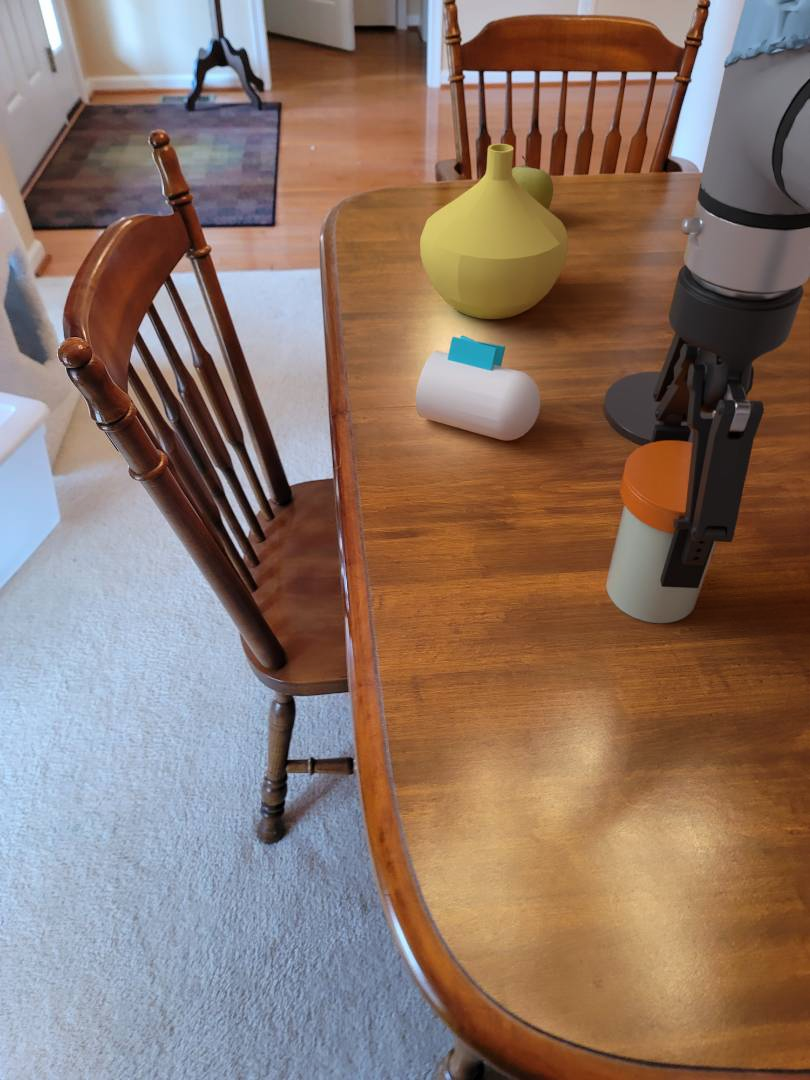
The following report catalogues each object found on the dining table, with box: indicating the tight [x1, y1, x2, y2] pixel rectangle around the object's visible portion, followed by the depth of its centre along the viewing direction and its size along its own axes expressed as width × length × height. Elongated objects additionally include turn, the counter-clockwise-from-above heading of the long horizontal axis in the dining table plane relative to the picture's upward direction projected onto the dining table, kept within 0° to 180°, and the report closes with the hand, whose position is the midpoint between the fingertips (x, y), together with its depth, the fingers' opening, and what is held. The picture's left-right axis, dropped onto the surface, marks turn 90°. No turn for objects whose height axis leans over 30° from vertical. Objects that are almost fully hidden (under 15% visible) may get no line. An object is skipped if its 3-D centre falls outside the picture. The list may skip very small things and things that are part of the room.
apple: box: [512, 155, 554, 211], centre depth 124 cm, size 8×8×10 cm
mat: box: [603, 370, 713, 446], centre depth 90 cm, size 14×14×1 cm
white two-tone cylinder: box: [415, 334, 541, 441], centre depth 88 cm, size 12×9×12 cm
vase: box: [419, 143, 569, 320], centre depth 102 cm, size 18×18×19 cm
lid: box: [619, 440, 745, 534], centre depth 64 cm, size 9×9×2 cm
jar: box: [605, 504, 718, 624], centre depth 67 cm, size 8×8×12 cm
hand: (667, 534), depth 67 cm, fingers open, 10 cm apart
